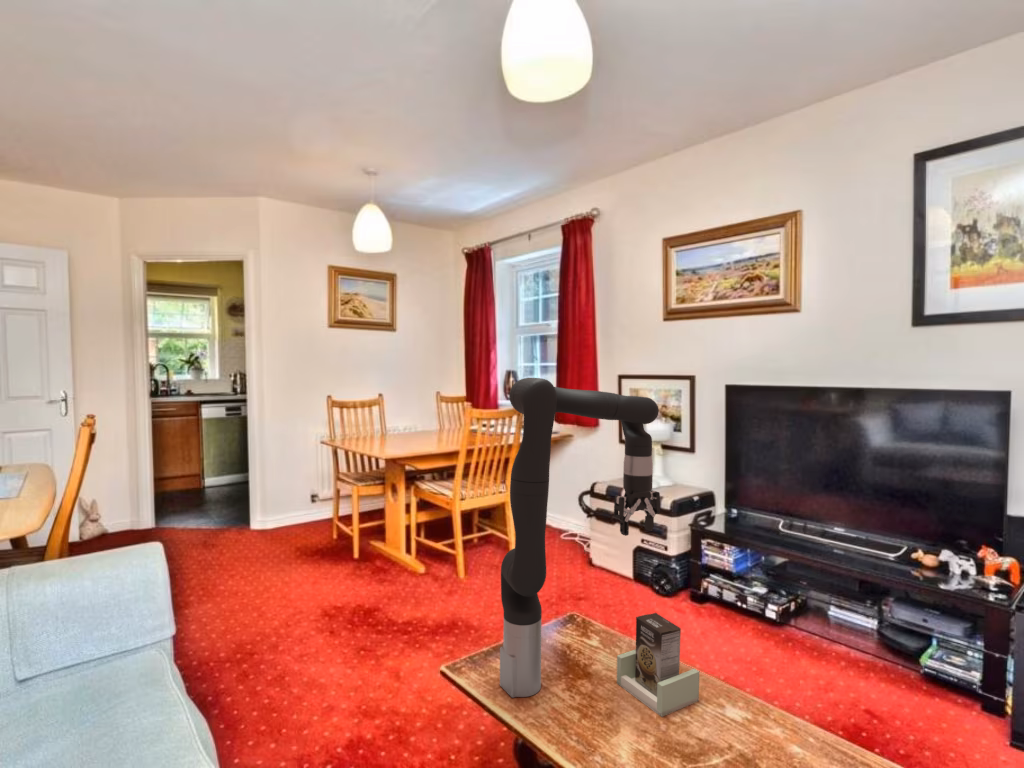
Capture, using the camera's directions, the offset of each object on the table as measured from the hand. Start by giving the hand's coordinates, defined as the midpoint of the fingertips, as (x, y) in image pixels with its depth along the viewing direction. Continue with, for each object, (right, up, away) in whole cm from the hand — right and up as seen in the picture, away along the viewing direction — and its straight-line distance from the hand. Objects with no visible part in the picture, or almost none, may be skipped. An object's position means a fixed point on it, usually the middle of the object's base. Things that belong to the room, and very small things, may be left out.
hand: (636, 532), depth 147 cm
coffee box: (+2, -34, -14) cm, 37 cm away
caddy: (+2, -35, -14) cm, 37 cm away
